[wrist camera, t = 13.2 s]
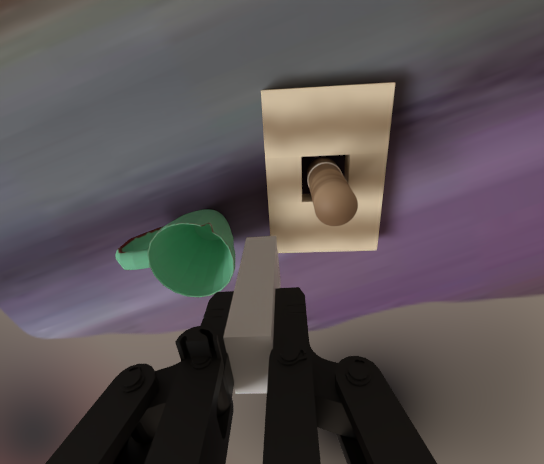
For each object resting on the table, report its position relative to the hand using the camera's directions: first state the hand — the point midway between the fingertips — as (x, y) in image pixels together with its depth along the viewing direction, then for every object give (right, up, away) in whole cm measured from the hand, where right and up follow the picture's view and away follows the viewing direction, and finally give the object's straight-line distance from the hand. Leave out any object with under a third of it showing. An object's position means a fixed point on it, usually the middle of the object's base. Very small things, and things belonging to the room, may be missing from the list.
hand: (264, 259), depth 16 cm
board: (+7, +9, +23) cm, 26 cm away
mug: (-11, +2, +28) cm, 30 cm away
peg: (+7, +9, +23) cm, 26 cm away
